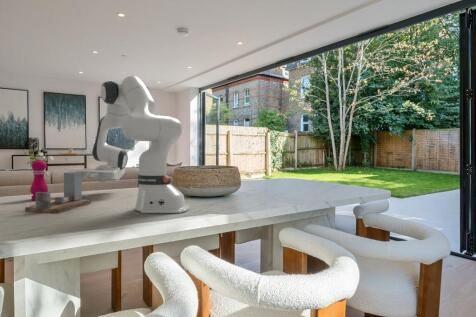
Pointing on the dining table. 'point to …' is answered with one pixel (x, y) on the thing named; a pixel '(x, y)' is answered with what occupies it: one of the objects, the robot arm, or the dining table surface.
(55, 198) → the wood and grey stick
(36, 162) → the pepper mill
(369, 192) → the dining table surface
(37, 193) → the gauge bench
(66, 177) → the brushed steel block
